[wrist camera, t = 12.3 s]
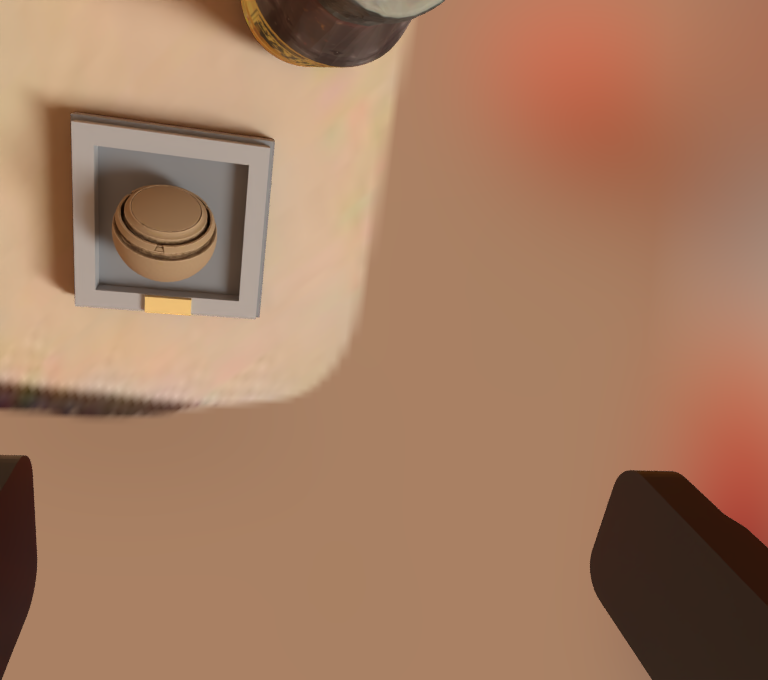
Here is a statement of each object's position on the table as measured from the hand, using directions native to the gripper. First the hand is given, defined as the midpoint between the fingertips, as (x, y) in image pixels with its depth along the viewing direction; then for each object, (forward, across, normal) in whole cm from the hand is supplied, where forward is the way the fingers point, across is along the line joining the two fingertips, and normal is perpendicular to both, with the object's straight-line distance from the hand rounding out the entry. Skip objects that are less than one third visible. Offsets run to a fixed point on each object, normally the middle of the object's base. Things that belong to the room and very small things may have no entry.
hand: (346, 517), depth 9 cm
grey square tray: (+30, +5, +3) cm, 31 cm away
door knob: (+29, +5, +3) cm, 30 cm away
